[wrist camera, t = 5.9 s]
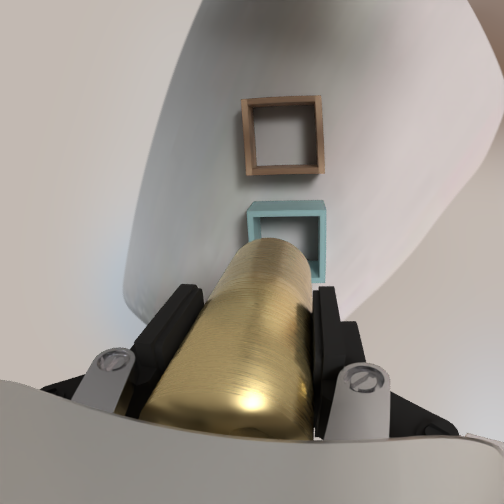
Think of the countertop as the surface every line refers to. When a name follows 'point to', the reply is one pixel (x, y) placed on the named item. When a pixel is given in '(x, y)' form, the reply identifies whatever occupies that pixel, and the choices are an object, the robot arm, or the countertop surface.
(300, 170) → the socket block
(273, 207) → the block
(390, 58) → the countertop surface
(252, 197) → the countertop surface
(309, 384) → the gold domed peg
